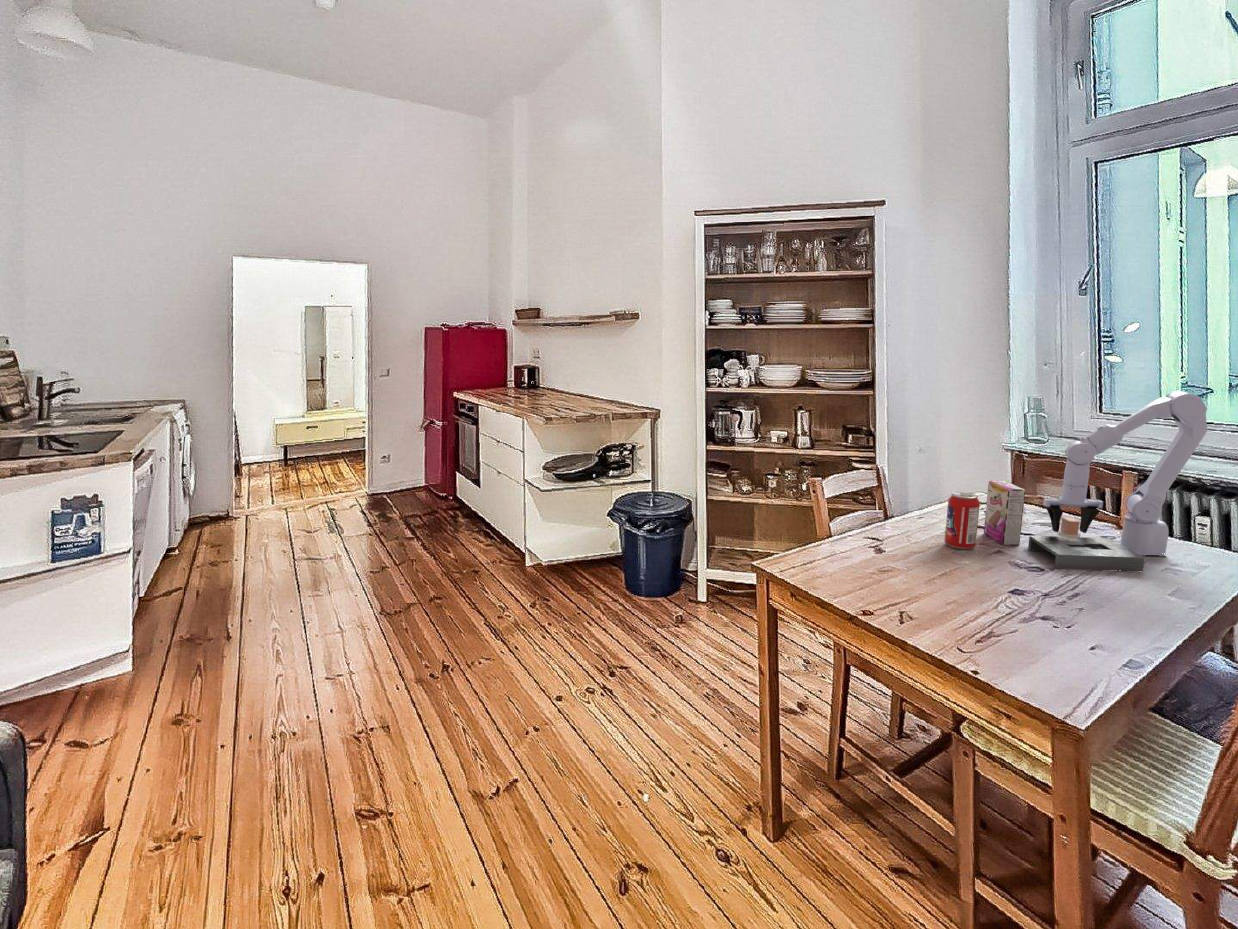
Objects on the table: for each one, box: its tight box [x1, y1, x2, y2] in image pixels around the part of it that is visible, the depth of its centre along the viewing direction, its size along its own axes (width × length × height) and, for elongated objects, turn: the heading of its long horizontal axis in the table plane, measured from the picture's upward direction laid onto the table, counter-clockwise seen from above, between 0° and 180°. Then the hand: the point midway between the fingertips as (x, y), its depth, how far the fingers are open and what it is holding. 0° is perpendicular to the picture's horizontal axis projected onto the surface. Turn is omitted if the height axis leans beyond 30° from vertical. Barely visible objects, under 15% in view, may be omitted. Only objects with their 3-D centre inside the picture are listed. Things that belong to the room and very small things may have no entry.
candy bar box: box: [983, 480, 1026, 546], centre depth 193 cm, size 11×5×16 cm, turn 179°
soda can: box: [943, 491, 981, 551], centre depth 187 cm, size 8×8×15 cm
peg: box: [1056, 516, 1081, 537], centre depth 189 cm, size 5×5×7 cm
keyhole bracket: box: [1027, 535, 1146, 572], centre depth 176 cm, size 20×16×4 cm
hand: (1069, 531), depth 189 cm, fingers open, 7 cm apart
